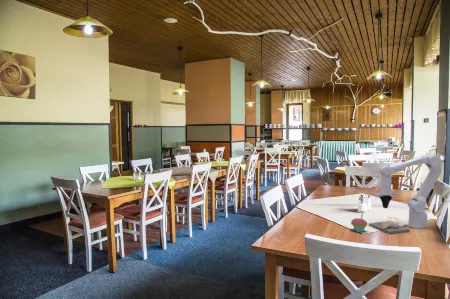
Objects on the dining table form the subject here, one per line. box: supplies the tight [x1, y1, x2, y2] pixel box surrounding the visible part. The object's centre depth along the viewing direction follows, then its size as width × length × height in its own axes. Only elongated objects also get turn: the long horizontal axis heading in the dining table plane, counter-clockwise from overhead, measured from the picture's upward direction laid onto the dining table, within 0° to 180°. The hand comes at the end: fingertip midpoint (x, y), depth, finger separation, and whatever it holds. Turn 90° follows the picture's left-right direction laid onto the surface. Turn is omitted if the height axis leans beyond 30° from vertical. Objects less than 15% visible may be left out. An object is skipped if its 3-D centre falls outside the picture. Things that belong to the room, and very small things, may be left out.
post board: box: [368, 221, 411, 235], centre depth 184 cm, size 14×16×2 cm
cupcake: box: [350, 211, 368, 233], centre depth 180 cm, size 9×8×12 cm
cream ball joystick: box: [381, 216, 400, 227], centre depth 181 cm, size 12×6×4 cm, turn 118°
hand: (385, 207), depth 191 cm, fingers closed
